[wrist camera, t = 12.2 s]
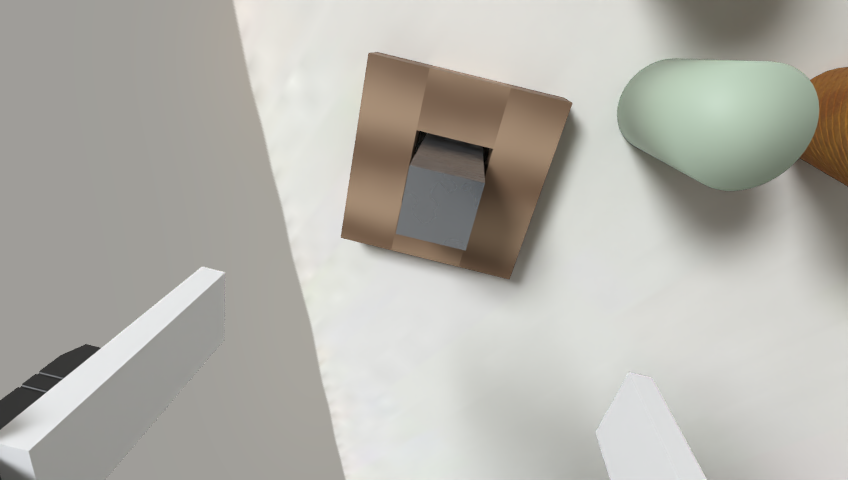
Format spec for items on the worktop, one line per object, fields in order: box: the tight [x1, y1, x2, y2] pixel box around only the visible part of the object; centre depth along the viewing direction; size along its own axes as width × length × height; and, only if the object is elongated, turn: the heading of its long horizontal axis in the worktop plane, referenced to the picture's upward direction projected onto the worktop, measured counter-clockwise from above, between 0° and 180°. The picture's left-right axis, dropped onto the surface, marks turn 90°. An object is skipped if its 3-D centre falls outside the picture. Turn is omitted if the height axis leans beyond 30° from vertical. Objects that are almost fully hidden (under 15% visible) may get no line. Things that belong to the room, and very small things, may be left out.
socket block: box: [341, 52, 572, 279], centre depth 33 cm, size 14×14×3 cm
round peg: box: [617, 59, 819, 191], centre depth 26 cm, size 6×6×10 cm
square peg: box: [396, 133, 485, 251], centre depth 30 cm, size 4×4×10 cm
